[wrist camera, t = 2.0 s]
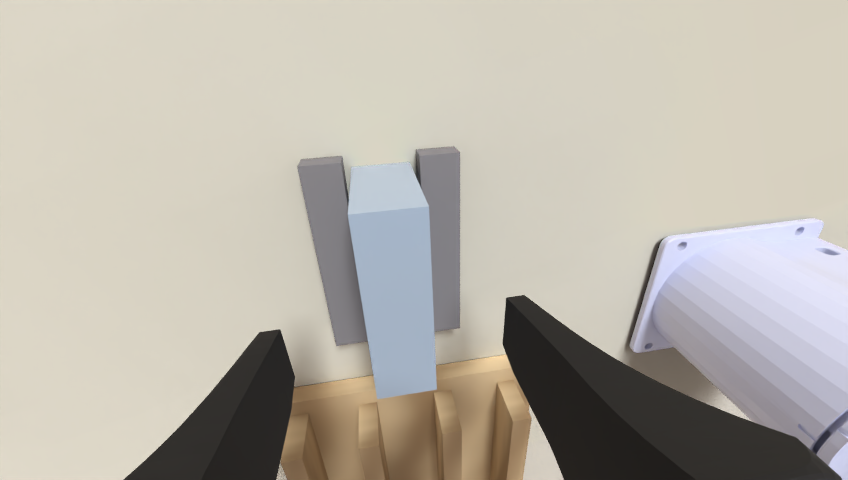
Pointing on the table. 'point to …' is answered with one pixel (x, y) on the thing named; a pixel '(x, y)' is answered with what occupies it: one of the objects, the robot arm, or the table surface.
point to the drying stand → (336, 249)
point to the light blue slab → (394, 276)
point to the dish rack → (412, 428)
